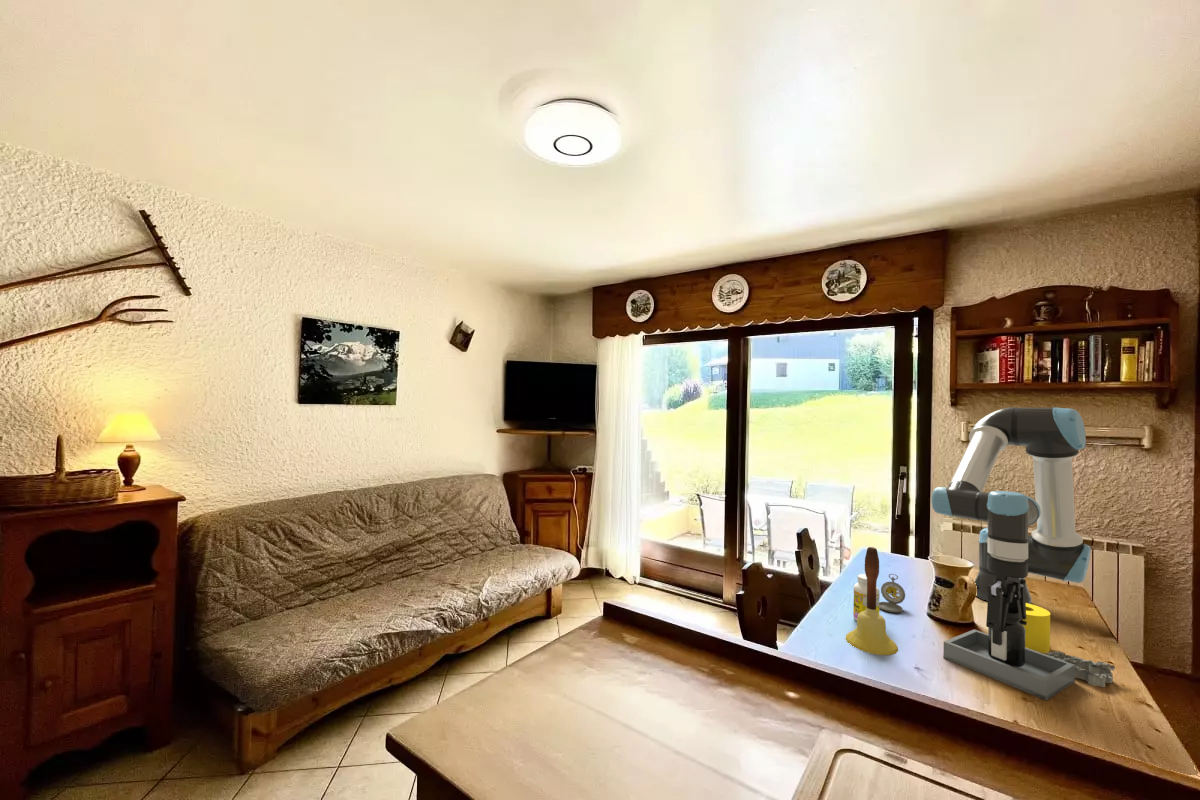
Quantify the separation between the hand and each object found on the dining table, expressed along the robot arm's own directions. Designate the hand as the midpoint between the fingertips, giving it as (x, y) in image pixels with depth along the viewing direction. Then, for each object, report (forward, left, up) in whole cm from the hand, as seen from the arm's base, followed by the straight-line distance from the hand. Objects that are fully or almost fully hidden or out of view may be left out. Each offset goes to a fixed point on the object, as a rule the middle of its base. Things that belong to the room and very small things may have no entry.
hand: (1006, 653), depth 118 cm
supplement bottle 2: (0, 0, -2) cm, 2 cm away
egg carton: (-13, +9, -4) cm, 17 cm away
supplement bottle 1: (+5, -32, -4) cm, 33 cm away
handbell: (+17, -23, -4) cm, 29 cm away
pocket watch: (-11, -34, -4) cm, 36 cm away
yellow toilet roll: (-20, -4, -4) cm, 21 cm away
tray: (0, 0, -4) cm, 4 cm away
